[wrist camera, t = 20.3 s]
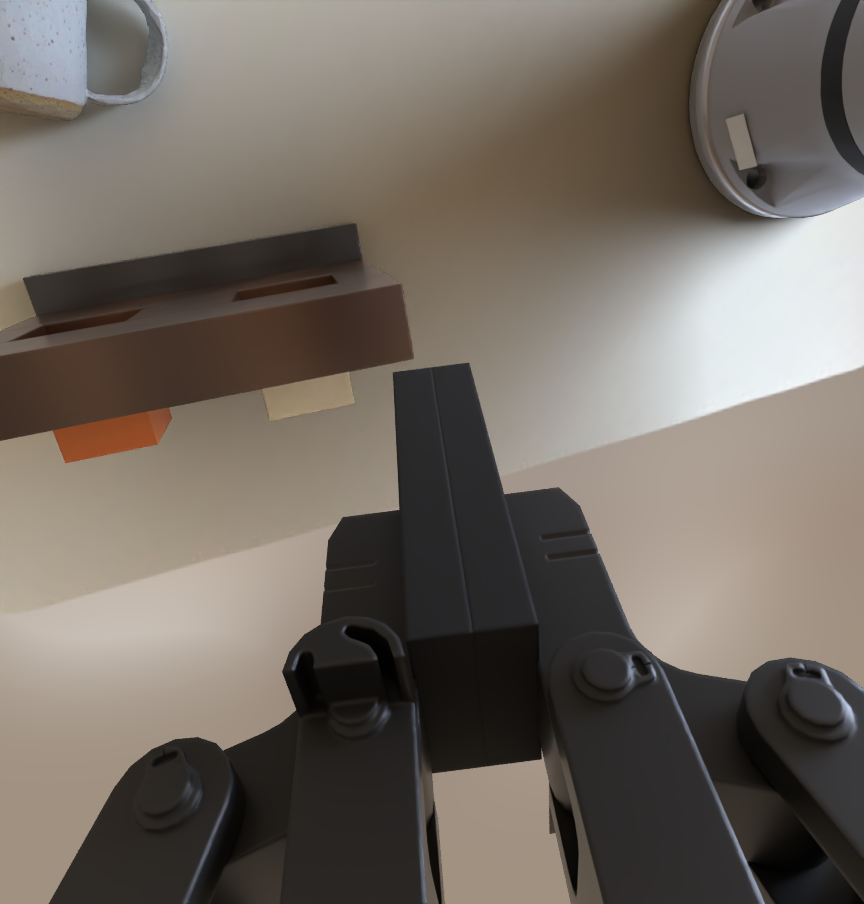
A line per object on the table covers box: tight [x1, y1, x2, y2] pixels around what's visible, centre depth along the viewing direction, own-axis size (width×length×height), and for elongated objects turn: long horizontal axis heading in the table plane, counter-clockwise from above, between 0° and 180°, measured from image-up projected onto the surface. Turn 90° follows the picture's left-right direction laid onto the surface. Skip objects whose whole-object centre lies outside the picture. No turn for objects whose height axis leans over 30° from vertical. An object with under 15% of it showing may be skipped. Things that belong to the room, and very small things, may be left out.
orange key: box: [53, 408, 172, 463], centre depth 30 cm, size 4×4×4 cm
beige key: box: [262, 372, 355, 421], centre depth 31 cm, size 4×4×4 cm
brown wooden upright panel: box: [0, 223, 414, 441], centre depth 31 cm, size 18×7×15 cm, turn 99°
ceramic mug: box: [0, 0, 168, 121], centre depth 29 cm, size 11×8×8 cm
